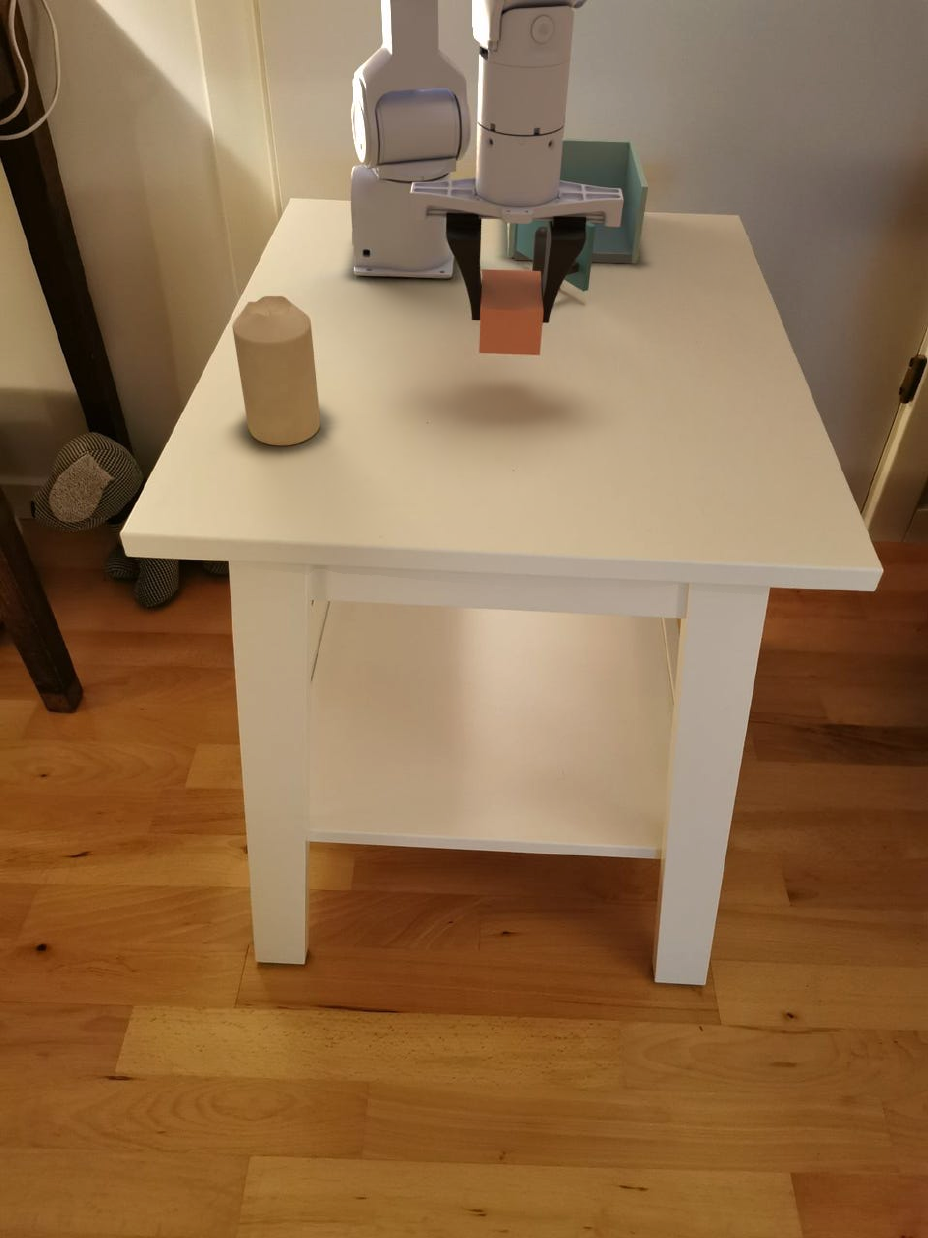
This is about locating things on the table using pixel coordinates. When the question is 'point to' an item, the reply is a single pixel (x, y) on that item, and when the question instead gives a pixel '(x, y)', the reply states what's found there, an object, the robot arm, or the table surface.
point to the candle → (277, 371)
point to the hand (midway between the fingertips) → (509, 315)
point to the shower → (610, 170)
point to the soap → (511, 312)
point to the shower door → (534, 247)
